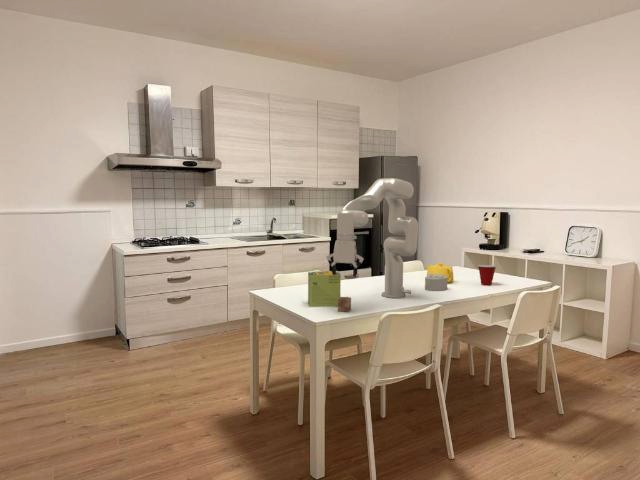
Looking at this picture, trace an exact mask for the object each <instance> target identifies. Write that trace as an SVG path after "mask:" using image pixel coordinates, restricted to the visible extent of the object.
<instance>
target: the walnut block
mask: <svg viewBox="0 0 640 480" xmlns="http://www.w3.org/2000/svg"><path fill="white" fill-rule="evenodd" d="M351 311H352V297H348V296H346V297H345V296H340V298H339V299H338V306H337V312H338V313H346V314H347V313H350V312H351Z"/></svg>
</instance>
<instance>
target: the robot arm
mask: <svg viewBox="0 0 640 480" xmlns="http://www.w3.org/2000/svg"><path fill="white" fill-rule="evenodd" d="M414 191H415V188H414V186H413V184H412V183H411V182H409V181H406V180H403V179H399V178H394V177H393V178H391V177H389V178H386V177H385V178H378V179H377V180H375V181H374V182H373V184H372V185H371V186H370V187H369V188H368V189H367V190H366V192H365V193H364V194H362V195H361V196H358V197H357V198H355V199H353V200H351V201H349V202H348V203H347V204H346V205H345V206H344V207H343V208H342V210H339V211H338V212H337V217H336V220H337V221H336V222H337V224H336V240H335V243H334V248H333V253H330V254H327V256H325V257H326V260H327V262H328V263H329V265H330V266H331V271H332V273H333V275H335V274H336V271H337V266H336V264H352V266H353V267H352V268H353V269H352V271H353V275H352V276H353V277H356V276H357V275H358V267H359V266H361V265H362V263H363V261H364V260H365V259H364V257H362V256H361V255H360V254H357V245H356V244H357V243H356V241H355V240H357V235H355V233H354V230H355V227H356V228H359V227H360V228H361V227H364V226H365V227H366V225H367V224H368V223H369V219H370V218H369V214H368V213H367V212H366V211H370V210H372V209H375V208H377V207H378V206H379V205H380V203H381V202H382V201H383V200H384V199H385V201H387V203H388V221H387V222H388V223H387V227H388V228H387V229H388V231H389V232H388V233H390V234H392V235H401V236H402V235H403V236H405V237H403V236H402V237H401V236H388V237H387V238H386V239H384V241H383V250H384V251H383V252H384V258H385V259H384V261H385V263H384V265H385V266H384V291H383V292H381V296H382V297H384V298H388V299H389V298H390V299H401V298H405V297H406V294H407V295H411V294H412V290H411V289H406V288H405V287H404V286H403V285H404V259H402V257H413V256H414V255H415V254H416V252H417V248H418V238H419V237H418V236H419V222H418V220H417V218H415V217H413V216H406V210H407V209H406V208H407V207H406V205H405V202H404V200H409V199H411V198H412V197H413V195H414ZM401 256H402V257H401ZM331 258H332V259H331ZM357 259H358V260H359V261H358V260H357ZM332 260H333V261H332ZM357 261H358V262H357Z"/></svg>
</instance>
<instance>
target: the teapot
mask: <svg viewBox="0 0 640 480" xmlns="http://www.w3.org/2000/svg"><path fill="white" fill-rule="evenodd" d="M425 268H426V270H427V271H426V276H428V274H433V275H435V274H442V275H444V276H445V277H447V284H451V283H452V284H453V282H454V270H453V267H452V266H449V265H444V263H443V262H437V264H433V265H426V266H425Z"/></svg>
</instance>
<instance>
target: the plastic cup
mask: <svg viewBox="0 0 640 480" xmlns="http://www.w3.org/2000/svg"><path fill="white" fill-rule="evenodd" d="M477 268H478V272H479V280H480V284H481V286H492V283H493V279H494V275H495V271H496V268H497V265H492V264H491V265H489V264H480V265H479V264H478V265H477Z"/></svg>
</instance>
